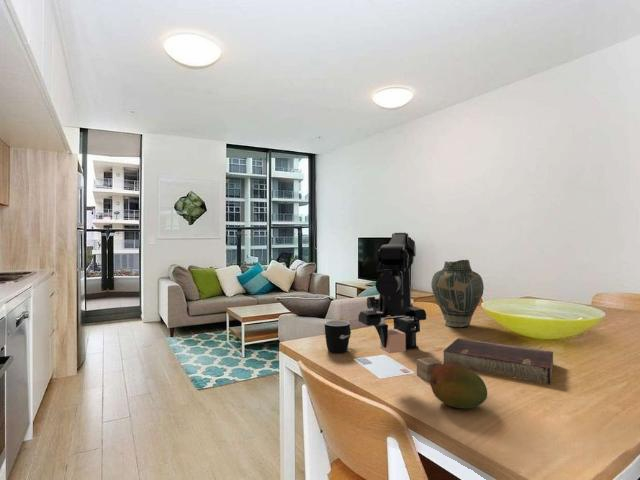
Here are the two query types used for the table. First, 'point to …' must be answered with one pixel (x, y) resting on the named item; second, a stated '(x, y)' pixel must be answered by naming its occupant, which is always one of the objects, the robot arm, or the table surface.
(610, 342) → the table surface
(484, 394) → the fruit
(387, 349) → the block
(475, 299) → the vase
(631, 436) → the table surface
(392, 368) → the envelope
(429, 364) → the walnut block
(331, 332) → the mug
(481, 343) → the hardback book
